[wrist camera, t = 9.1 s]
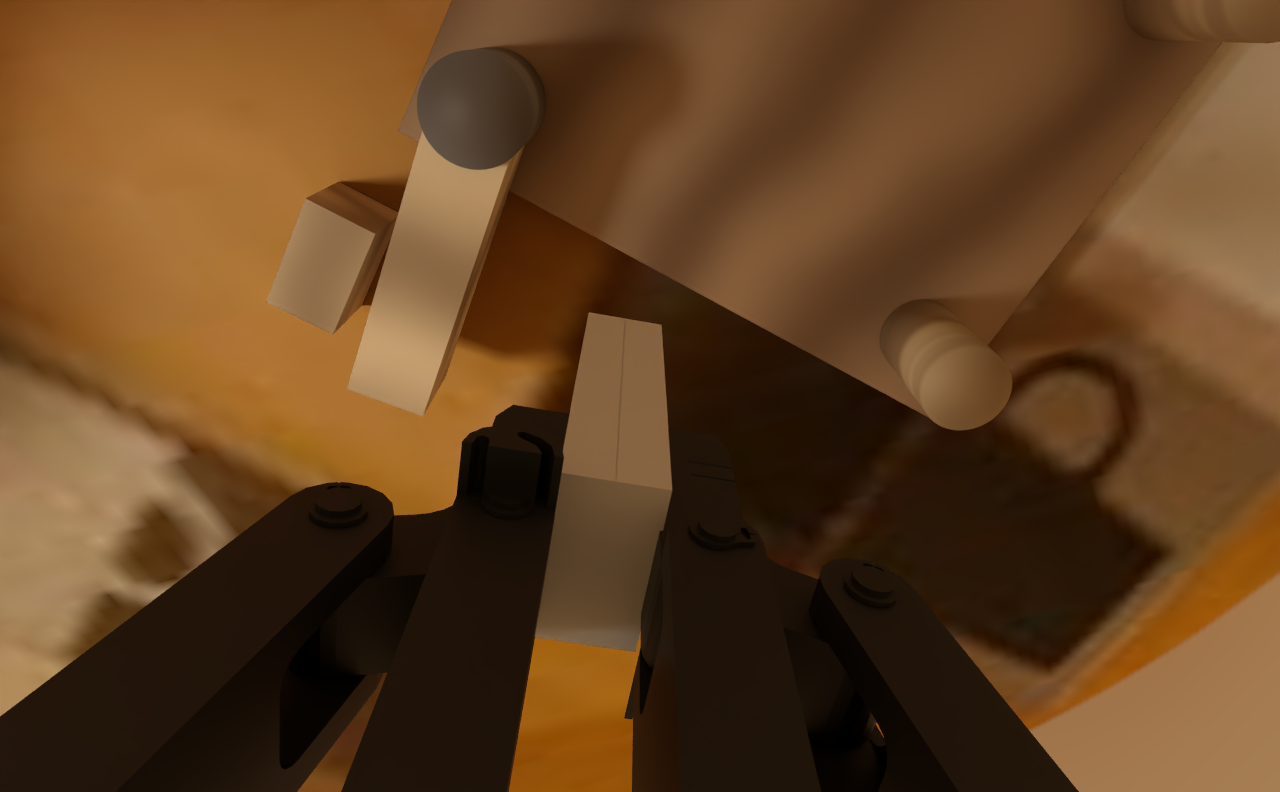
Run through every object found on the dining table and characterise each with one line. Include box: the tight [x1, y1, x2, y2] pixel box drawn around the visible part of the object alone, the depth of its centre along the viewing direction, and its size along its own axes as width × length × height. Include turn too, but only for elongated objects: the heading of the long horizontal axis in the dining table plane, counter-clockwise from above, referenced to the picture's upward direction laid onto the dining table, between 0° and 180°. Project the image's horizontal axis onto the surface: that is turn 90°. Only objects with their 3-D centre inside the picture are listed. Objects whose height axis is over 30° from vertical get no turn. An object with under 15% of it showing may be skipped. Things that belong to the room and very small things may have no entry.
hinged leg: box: [347, 47, 546, 416], centre depth 27 cm, size 12×3×4 cm, turn 158°
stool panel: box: [266, 0, 1280, 430], centre depth 26 cm, size 24×25×6 cm
